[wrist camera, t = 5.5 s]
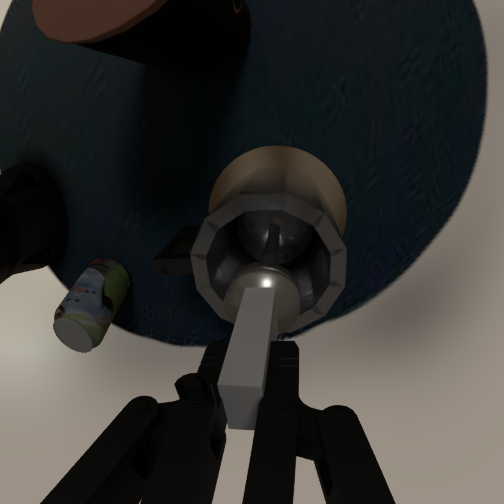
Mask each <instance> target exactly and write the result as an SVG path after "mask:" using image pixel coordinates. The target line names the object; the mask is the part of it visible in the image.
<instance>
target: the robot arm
mask: <svg viewBox="0 0 504 504" xmlns="http://www.w3.org/2000/svg"><path fill="white" fill-rule="evenodd" d="M67 229H68V225H67V215H66V209H65V205H64V202H63V199H62V196H61V193H60V191H59V189H58V187H57V185H56V184H55V182H54V180H53V179H52V178H51V176H50V175H49V174H48V173H47V172H46V171H45V170H44V169H43V168H41V167H40V166H38V165H36V164H33V163H21V164H18V165H15V166H12V167H10V168H8V169H6V170H5V171H4V172H3V173H1V174H0V284H1V283H2V282H3V281H5V280H6V279H7V278H9V277H10V276H11V275H13V274H17V273H22V272H26V271H31V270H36V269H40V268H43V267H45V266H47V265H48V264H50V263H51V262H53V261H54V260H55V259H57V258H58V257H59V256H60V254H61V253H62V251H63V249H64V247H65V243H66V239H67ZM277 335H278V324H277V307H276V291H275V287H264V288H245V291H244V295H243V298H242V301H241V305H240V308H239V312H238V315H237V319H236V322H235V326H234V329H233V332H232V336H231V339H230V341H213V342H212V343H211V344H210V345H209V346H208V347H207V348H206V350H205V353H204V355H203V358H202V361H201V365H200V366H199V369H198V371H197V373H189V374H187V375H183V376H182V377H181V378H179V379H178V380H177V381H176V383H175V387H176V390H177V393H178V395H179V398H180V399H179V400H177V401H173V402H166V403H157V401H156V400H155V399H154V398H152V397H150V396H139V397H136V398H134V399H132V400H131V401H130V402H129V403H128V404H127V405H126V406H125V407H124V408H123V410H122V411H121V412H120V413H119V414H118V415H117V416H116V418H115V419H114V420H113V421H112V422H111V424H110V425H109V426H108V427H107V428H106V429H105V430H104V431H103V433H102V434H101V435H100V436H99V437H98V438H97V439H96V441H95V442H94V443H93V444H92V445H91V446H90V448H89V449H88V450H87V451H86V452H85V453H84V454H83V456H82V457H81V458H80V459H79V460H78V461H77V462H76V463H75V465H74V466H73V467H72V468H71V469H70V470H69V472H68V473H67V474H66V475H65V476H64V477H63V478H62V479H61V480H60V482H59V483H58V484H57V485H56V486H55V487H54V489H53V490H52V491H51V492H50V493H49V494H48V495H47V496H46V498H45V499H44V500H43V501H42V502H41V503H40V504H139V502H140V501H141V503H140V504H212V500H213V496H214V492H215V487H216V483H217V479H218V474H219V470H220V466H221V461H222V457H223V453H224V448H225V444H226V433H225V429H226V424H228V427H229V429H242V430H255V432H254V438H253V445H252V451H251V457H250V463H249V469H248V474H247V480H246V485H245V491H244V497H243V502H242V504H293V496H294V482H295V467H296V456H299V457H302V458H305V459H309V460H313V461H314V464H315V467H316V470H317V474H318V477H319V481H320V484H321V488H322V491H323V494H324V497H325V501H326V504H395V501H394V499H393V497H392V494H391V492H390V490H389V487H388V485H387V483H386V480H385V478H384V476H383V473H382V471H381V469H380V466H379V464H378V462H377V460H376V457H375V455H374V453H373V450H372V449H371V446H370V444H369V441H368V439H367V437H366V435H365V432H364V430H363V428H362V426H361V424H360V421H359V419H358V417H357V415H356V414H355V413H354V411H353V410H352V409H350V408H348V407H347V406H342V405H334V406H330V407H328V408H325V409H324V410H318V409H314V408H311V407H309V406H307V405H305V404H304V403H303V402H302V401H301V400H300V398H299V348H298V346H297V344H296V343H295V341H277Z"/></svg>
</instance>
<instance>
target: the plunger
mask: <svg viewBox="0 0 504 504" xmlns="http://www.w3.org/2000/svg"><path fill="white" fill-rule="evenodd" d="M312 233H313V226H312V225H311V224H309V223H307V222H305V221H303V220H301V219H299V218H297V217H295V216H293V215H291V214H289V213H287V212H285V211H283V210H281V209H280V210H260V211H245V212H243V213H242V214H240V216H239V220H238V236H239V239H240V241H241V244H242V245H243V247H244V248H245V250H246V251H247V252H248V253H249V254H250V255H251V256H253V257H254V258H256V259H258V260H260V261H259V262H253V263H250V264H247V265H245V266H243V267H242V268H240V269H239V270H238V271H237V272H236V273H235V274H234V275H233V277H232V279H231V281H230V284H229V286H228V289H227V292H226V294H225V298H224V309H225V312H226V315H227V317H228V319H229V320H230V321H231V323H232V324H233V325H234V326H235V322H236V319H237V315H238V312H239V308H240V305H241V301H242V298H243V295H244V291H245V288H264V287H275V291H276V307H277V324H278V335H279V334H281V333H283V332H285V331H287V330H288V329H290V328H291V327H292V326H293V325H294V323H295V322H296V320H297V318H298V316H299V312H300V289H299V285H298V282H297V280H296V279H295V277H294V276H293V274H292V273H291V272H290V271H289V270H287V269H286V268H284V267H283V266H281V265H279V264H282V263H287V262H290V261H292V260H294V259H296V258H297V257H299V256H300V255H301V254H302V253H303V252H304V251H305V250H306V249H307V247H308V246H309V244H310V241H311V238H312Z"/></svg>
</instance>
